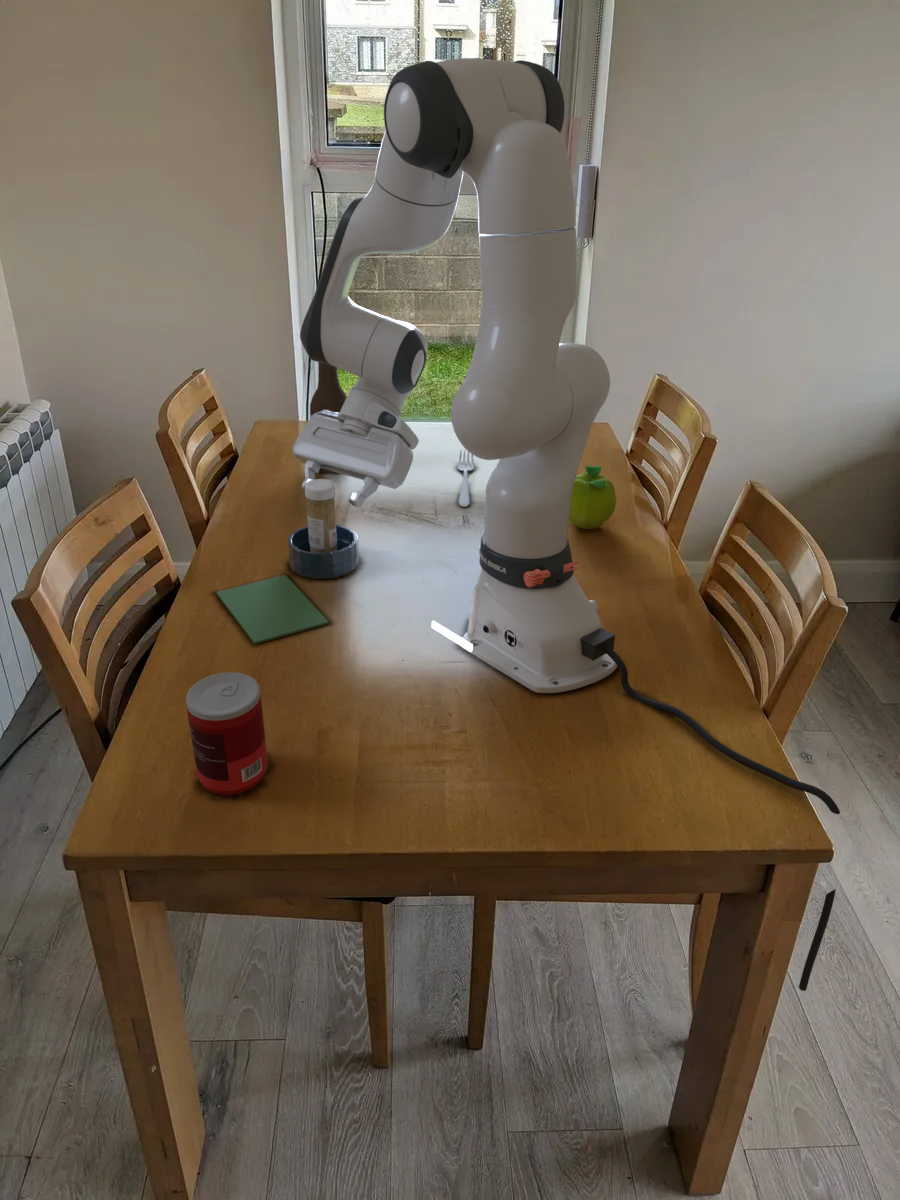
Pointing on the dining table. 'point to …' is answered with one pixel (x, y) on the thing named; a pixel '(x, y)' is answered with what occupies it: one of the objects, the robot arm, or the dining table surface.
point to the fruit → (591, 499)
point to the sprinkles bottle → (321, 515)
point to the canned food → (227, 732)
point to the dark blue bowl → (323, 555)
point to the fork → (465, 479)
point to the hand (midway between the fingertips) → (330, 497)
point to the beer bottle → (327, 394)
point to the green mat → (271, 609)
